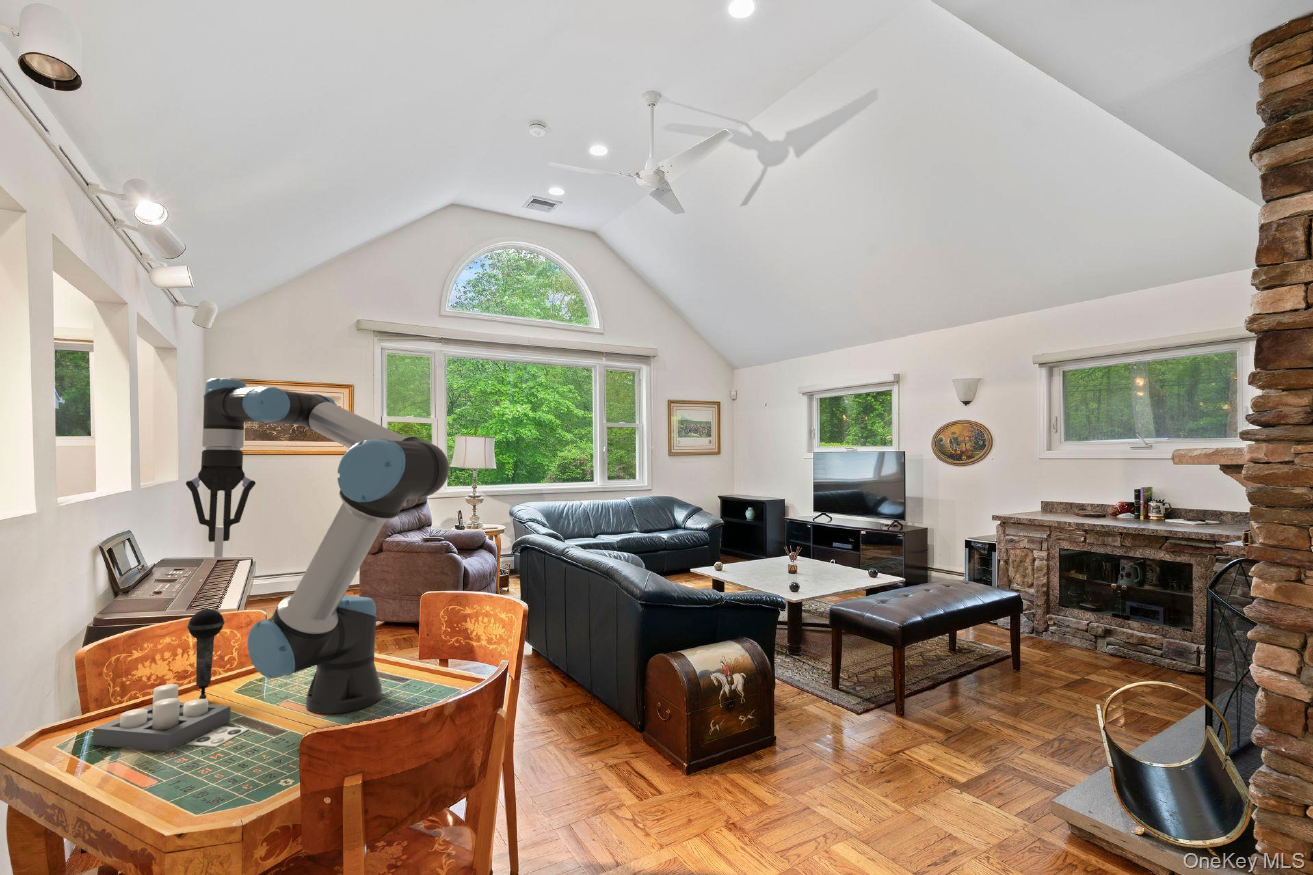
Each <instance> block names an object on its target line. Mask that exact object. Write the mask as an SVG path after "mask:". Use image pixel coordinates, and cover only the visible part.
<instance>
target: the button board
mask: <svg viewBox="0 0 1313 875" xmlns="http://www.w3.org/2000/svg"><path fill="white" fill-rule="evenodd" d="M184 703H185V702H183V701H182V702H181V701H180V708H179V724H178V725H177V726H175V727H173V728H170V729H166V730H153V729H152V721H153V713H152V709H153V704H151V705H149V706H146V707H144V708H142V709H147V722H146V723H144V724H141V725H139V726H137V727H134V728H123V727H120V717H119V718H117V719H114V720H112V721H109V722H106V723H104V724H101V725H99V726H96V727H93V730H92V731H93V736H92V745H93V746H102V747H103V746H104V747H114V748H125V749H137V750H147V751H156V752H170V751H172V750H174V749H176V748H178V747H180V746H182V745H184V744H186V743H189V742H191V741H193V740H195V739H197V738H199V737H202V736H204V735H206V734H208V733H210V732H212V731H214V730H216V729H218V728H220V727H222V726H224V724H227V723H229V722H230V721H231V708H232V707H231V705H220V704H209V703H208V712H206V713H204V714H202V715H199V716H197V717H188V716H183V707H184Z"/></svg>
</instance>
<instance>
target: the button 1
mask: <svg viewBox="0 0 1313 875" xmlns="http://www.w3.org/2000/svg"><path fill="white" fill-rule="evenodd" d="M119 716H120V717H119V718H120V727H123V728H134V727H137V726H139V725H141V724H144V723H146V722H147V709H143V708H135V709H131V710H127V711H125V712H122V713H121V714H120V715H119Z"/></svg>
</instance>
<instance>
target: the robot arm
mask: <svg viewBox="0 0 1313 875" xmlns="http://www.w3.org/2000/svg"><path fill="white" fill-rule="evenodd" d="M245 423H267V424H281V425H282V424H283V425H294V426H303V427H305V428H307V429H309V430H311V431H313V432H316V433H318V434H320V435H321V436H324V437H326V438H327V439H330V440H332V441H333V442H335V443H337V444H339V445H342V446H344V447H346V448H348V449H347V450H346V452H345V453H344V454H343V456H342V457H341V459H340V461H339V463H338V467H337V474H339V476H338V477H337V483H338V487H339V492H338V493H339V494H338V495H339V497H340V500H341V501H342V504H341V505H340V507H339V509H338V511H337V512H336V515H335V517H334V518H333V520H332V522H331V524H330V526H329V528H328V529H327V531H326V534H324V537H323V539H322V541H321V543H320V545H319V546H318V548H317V550H316V551H315V553H314V555H313V558H312V559H311V561H310V562H309V564H308V566H307V568H306V570H305V572H304V574H303V576H302V577H301V580H300V581H299V583H298V585H297V586H296V589H295V591H293V595H289V596H286V597H284V598H283V599H282V600H281V601H279V603H278V605H277V607H276V609H275V610H274V612H273V614H272V616H271V617H270V618H268V619H267V618H265V619H261V620H260V621H258V622H256V623H255V624H253V626H251V628H250V629H249V632H248V636H247V644H246V645H247V651H248V656H249V659H250V661H251V664H252V665H253V667H254V669H255V670H256V671H257V672H258V673H260V674H261V675H262V676H264V677H265V678H267V679H268V678H269V679H278V678H282V677H285V676H286V677H288V676H291V675H293V674H295V673H297V672H301V671H304V670H306V669H309V668H313V667H314V666H316V669H315V673H314V675H313V678H312V681H311V682H310V685H309V689H308V691H307V694H306V699H305V700H306V701H305V707H306V709H307V710H308V711H310V712H311V713H312V712H313V713H317V714H329V715H330V714H332V715H333V714H341V713H342V714H343V713H348V712H353V711H358V710H361V709H365V708H369V707H370V706H372V705H374V704H376V703H377V702H378V700H379V699H380V700H381V698H382V690H383V687H382V683H381V680H380V677H379V674H378V671H377V667H376V665H375V650H376V649H375V648H376V630H377V629H376V626H377V617H378V615H377V605H376V602H375V600H374V599H372V598H370V597H366V596H356V595H345V594H346V593H347V591H348V589H349V587H350V585H351V584H352V582H353V580H354V578H355V577H356V575H357V573H358V572H359V570H360V567H361V565H362V564H363V562H364V560H365V559H366V557H367V555H368V554H369V551H370V550H371V548H372V546H373V544H374V543H375V540H376V538H377V537H378V535H379V534H380V531H381V529H382V527H383V526H384V525H385V522H386V521H388V520H394V519H395V518H397V517H398V515H399V513H400V512H401V510H402V508H403V506H404V505H405V503H406V501H407V500H408V499H409V500H410V499H419V498H420V499H421V498H427V497H428V496H431V495H433V494H435V493H437V492H438V491H439V490H440V489H441V488H442V487H444V485H445V483H446V481H447V479H448V476H449V473H450V472H449V471H450V464H449V460H448V457H447V456H446V454H445V453H444V451H443V450H442V449H441V448H440V447H439V446H437V445H435V444H433V442H432V443H431V442H429V441H427V440H424V439H422V438H420V437H417V436H414V435H408V436H404V435H402V434H400V433H398V432H395V431H393V430H392V429H389V428H386V426H385V427H384V426H382V425H381V424H378V423H376V422H373V421H372V420H369V419H367V418H365V417H363V416H361V415H358V414H356V413H354V412H352V411H350V410H347V409H345V408H343V407H341V406H339V405H337V403H336V402H335V400H334V399H333V398H332V397H329V396H326V395H322V394H319V393H306V392H296V391H289V390H283V389H281V388H278V387H275V386H266V385H259V386H255V387H254V386H253V387H247V386H246V382H245V381H243V380H240V379H234V378H219V377H218V378H214V377H213V378H209V379H208V380H207V381H206V382H205V388H204V394H203V429H202V441H201V445H202V447H203V448H204V449H202V450H201V465H200V470H199V472H198V474H197V476H196V477H194V478H192V479H189V480H186V482H185V485H186V486H187V488H188V489H189V490H190V492H191V495H192V500H193V504H194V508H195V512H196V515H197V519H198V522H199V525H202V526H207V527H208V536H207V537H208V539H207V540H208V542H209V543H213V544H214V545H213V546H214V547H213V557H214V558H223V552H224V542H229V541H230V535H231V534H230V533H231V532H230V531H231V526H232V525H235V524H239V523H240V522H241V519H242V517H243V513H244V512H245V511H244V509H245V508H246V504H247V501H248V498H249V495H250V493H251V492H250V491H251V490H252V489H253V487H254V486H256V481H255V480H254V479H253V480H252V479H251V478H248V477H247V476H246V474H245V472H244V470H243V463H244V462H243V461H244V452H243V450H241V449H242V448H244V444H245V438H244V436H245ZM200 481H201V483H202V484H203V485H204V486H205V487H206V488H207V490H209V491H210V492H209V493H210V494H209V514H208V519H207V518H206V516H205V511H204V508H203V504H202V500H201V497H200V493H199V490H198V488H199V487H200ZM241 482H242V488H243V489H242V491H241V494H240V497H239V500H238V503H237V507H236V509H235V513H234V515H233V517H232V514H231V512H232V496H233V495H232V492H233V490H234V489H236V487H237V486H238V485H239V484H241ZM220 491H222V492H223V493H224V494H223V496H224V497H223V516H222V517H223V518H222V520H223V522H222V523H223V524H222V525H217V510H218V492H220ZM231 517H232V518H231ZM380 697H381V698H380ZM380 700H379V701H380ZM376 701H377V702H376ZM375 702H376V703H375Z"/></svg>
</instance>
